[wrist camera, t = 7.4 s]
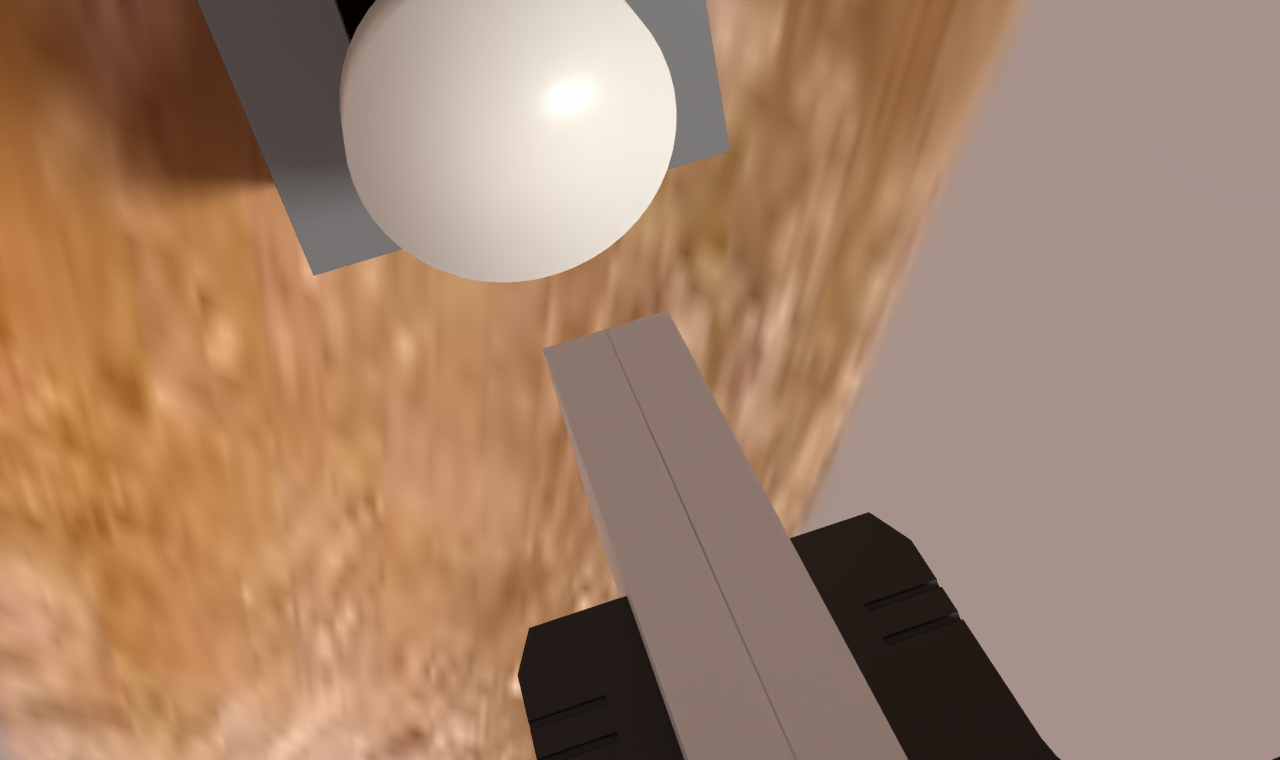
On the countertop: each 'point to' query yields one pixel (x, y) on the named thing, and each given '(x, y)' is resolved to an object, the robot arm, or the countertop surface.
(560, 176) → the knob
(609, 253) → the countertop surface
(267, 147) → the console
